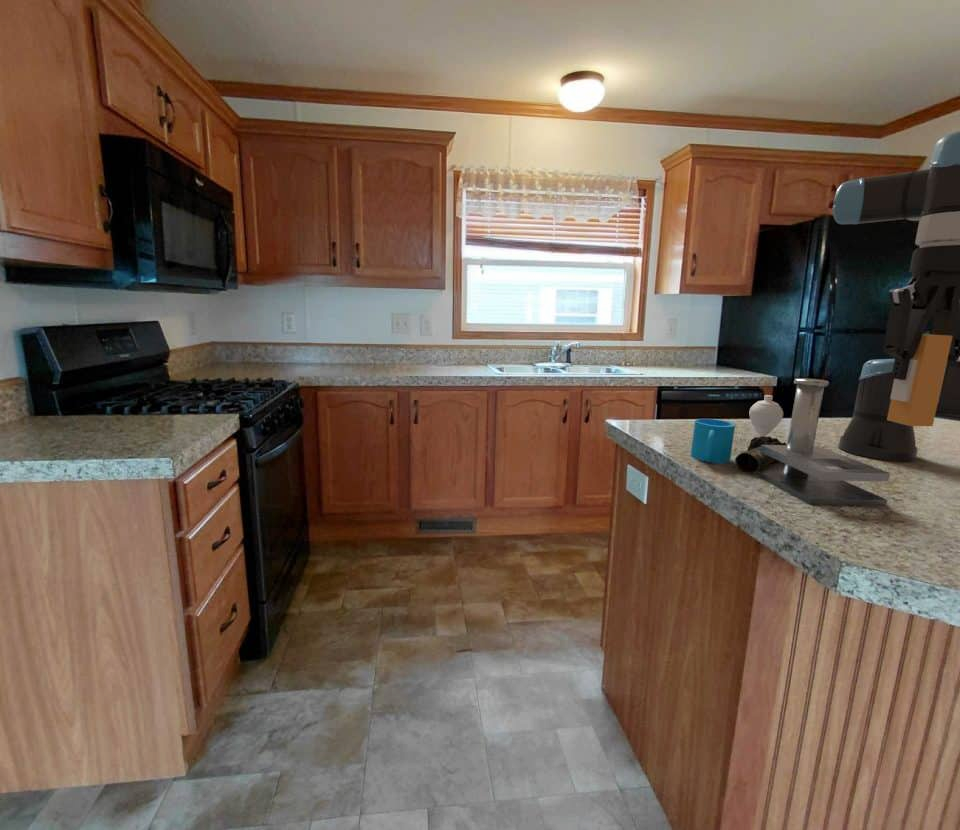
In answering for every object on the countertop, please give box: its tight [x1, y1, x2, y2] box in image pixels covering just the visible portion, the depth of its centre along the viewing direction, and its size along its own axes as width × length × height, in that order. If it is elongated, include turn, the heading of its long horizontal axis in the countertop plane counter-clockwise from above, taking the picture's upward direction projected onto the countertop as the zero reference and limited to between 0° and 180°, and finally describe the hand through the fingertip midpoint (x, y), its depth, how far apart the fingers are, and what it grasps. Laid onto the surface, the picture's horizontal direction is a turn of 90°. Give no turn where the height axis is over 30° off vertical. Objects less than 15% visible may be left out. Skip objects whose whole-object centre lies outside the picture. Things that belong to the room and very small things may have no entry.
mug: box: [690, 418, 736, 464], centre depth 112 cm, size 12×8×8 cm
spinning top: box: [748, 394, 784, 437], centre depth 131 cm, size 8×8×12 cm
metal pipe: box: [734, 435, 787, 475], centre depth 110 cm, size 18×7×6 cm, turn 130°
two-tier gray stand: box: [754, 377, 891, 506], centre depth 94 cm, size 14×18×20 cm
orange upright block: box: [887, 333, 953, 427], centre depth 80 cm, size 4×4×14 cm
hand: (913, 400), depth 80 cm, fingers closed on orange upright block, 4 cm apart
